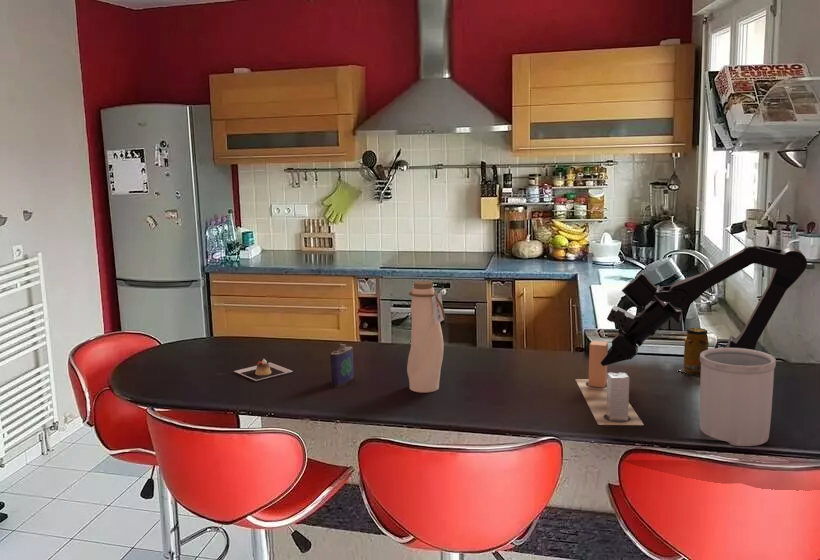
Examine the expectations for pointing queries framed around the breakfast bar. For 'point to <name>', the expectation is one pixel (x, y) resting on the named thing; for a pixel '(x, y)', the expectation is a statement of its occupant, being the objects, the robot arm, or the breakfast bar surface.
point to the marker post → (597, 364)
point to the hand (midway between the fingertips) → (604, 359)
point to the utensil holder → (736, 395)
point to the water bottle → (425, 338)
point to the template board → (603, 404)
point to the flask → (342, 366)
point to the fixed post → (617, 396)
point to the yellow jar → (694, 350)
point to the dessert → (264, 369)
